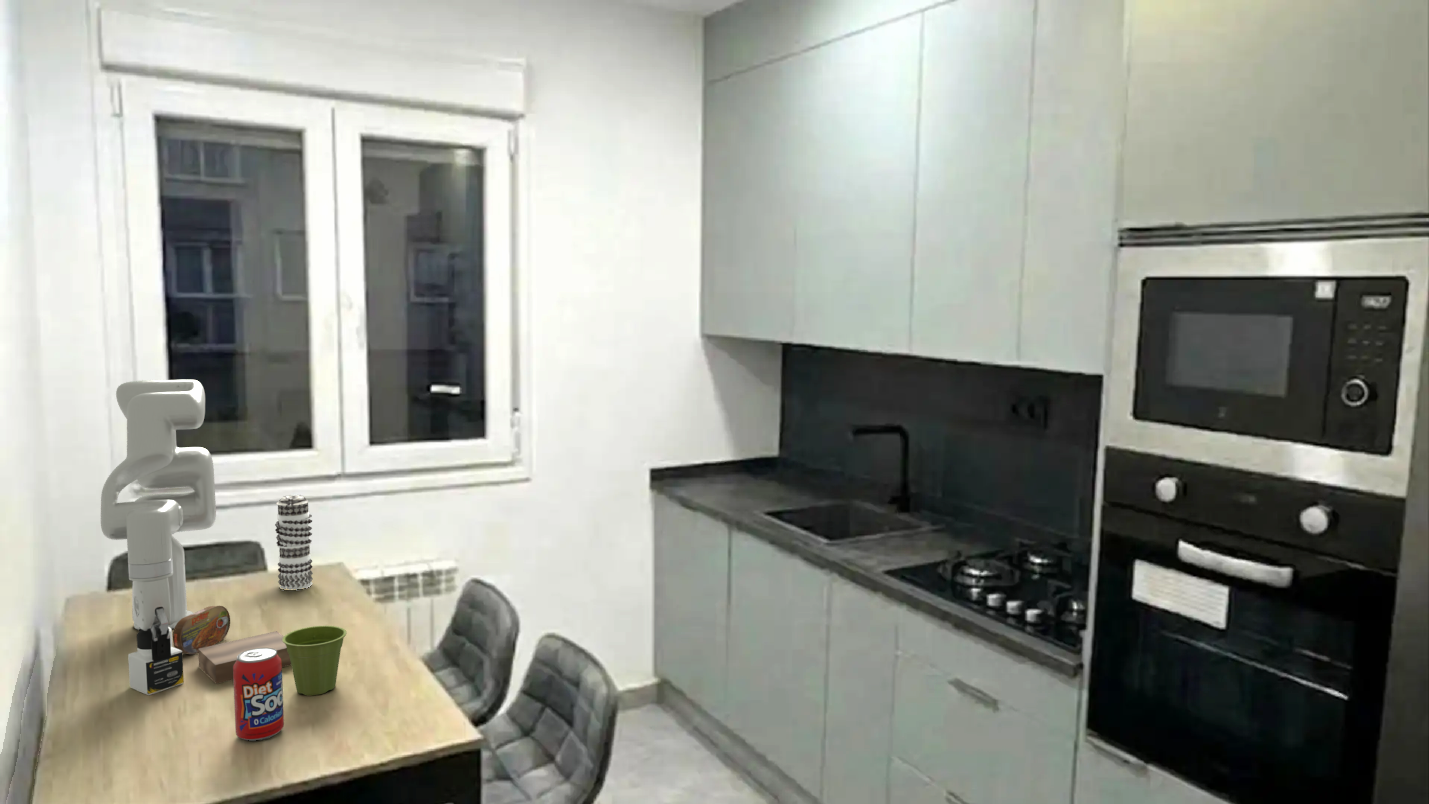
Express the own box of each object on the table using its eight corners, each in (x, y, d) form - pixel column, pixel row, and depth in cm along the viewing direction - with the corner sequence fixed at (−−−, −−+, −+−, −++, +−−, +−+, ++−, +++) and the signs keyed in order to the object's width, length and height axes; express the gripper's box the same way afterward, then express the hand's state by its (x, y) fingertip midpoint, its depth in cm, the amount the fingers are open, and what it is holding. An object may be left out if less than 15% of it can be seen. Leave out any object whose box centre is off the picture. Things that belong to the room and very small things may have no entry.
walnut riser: (198, 666, 196) (197, 648, 196) (277, 648, 208) (276, 631, 207) (216, 683, 188) (215, 664, 188) (297, 663, 199) (296, 645, 199)
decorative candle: (321, 583, 255) (319, 495, 253) (294, 593, 247) (291, 501, 244) (297, 579, 259) (294, 491, 256) (269, 588, 250) (266, 498, 248)
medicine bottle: (147, 696, 182) (144, 637, 181) (129, 687, 186) (126, 630, 184) (184, 683, 188) (181, 626, 187) (165, 676, 192) (163, 620, 190)
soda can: (252, 723, 171) (249, 644, 169) (292, 725, 170) (290, 646, 169) (226, 742, 163) (222, 661, 162) (268, 745, 162) (265, 663, 161)
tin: (183, 660, 200) (181, 622, 199) (170, 659, 201) (168, 621, 200) (232, 636, 215) (230, 601, 214) (220, 635, 215) (219, 600, 215)
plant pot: (358, 689, 186) (356, 635, 185) (297, 706, 178) (295, 650, 177) (334, 672, 195) (332, 620, 193) (275, 688, 186) (273, 634, 185)
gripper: (118, 564, 188) (123, 646, 189) (140, 581, 175) (144, 669, 177) (160, 558, 193) (164, 637, 194) (184, 574, 180) (188, 659, 182)
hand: (155, 652), depth 185 cm, fingers open, 9 cm apart
